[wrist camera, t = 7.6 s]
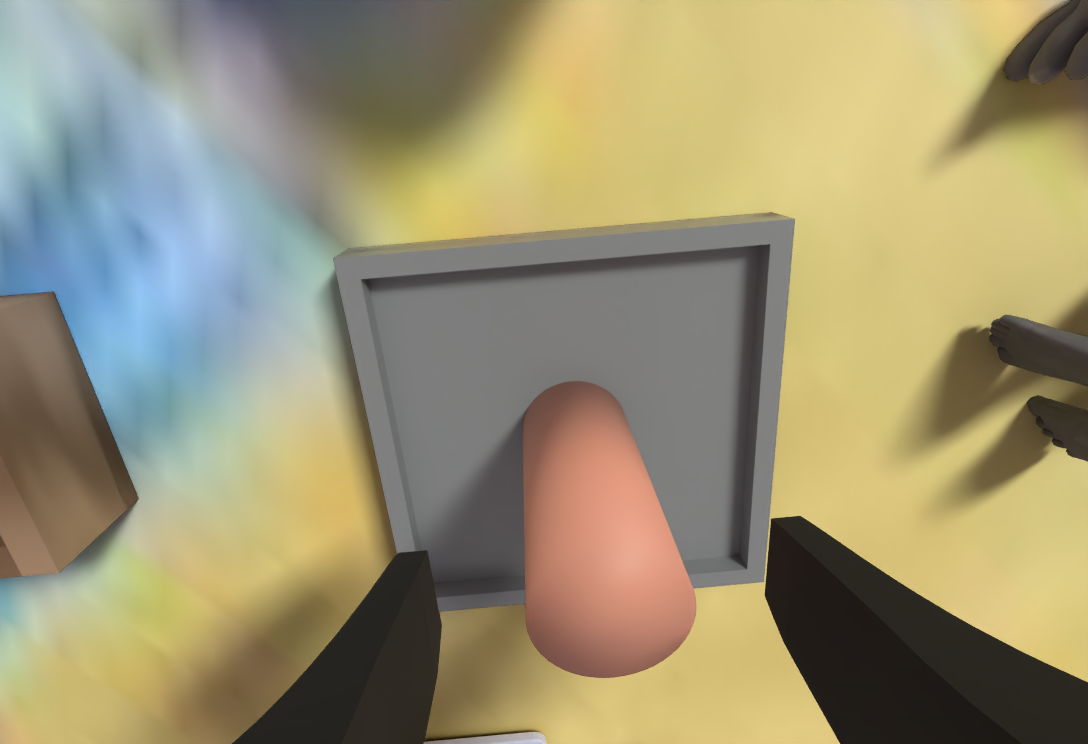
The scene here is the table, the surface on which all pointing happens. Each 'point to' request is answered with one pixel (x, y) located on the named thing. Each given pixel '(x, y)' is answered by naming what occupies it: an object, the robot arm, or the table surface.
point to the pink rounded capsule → (596, 540)
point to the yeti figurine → (1084, 49)
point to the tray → (573, 355)
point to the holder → (51, 444)
